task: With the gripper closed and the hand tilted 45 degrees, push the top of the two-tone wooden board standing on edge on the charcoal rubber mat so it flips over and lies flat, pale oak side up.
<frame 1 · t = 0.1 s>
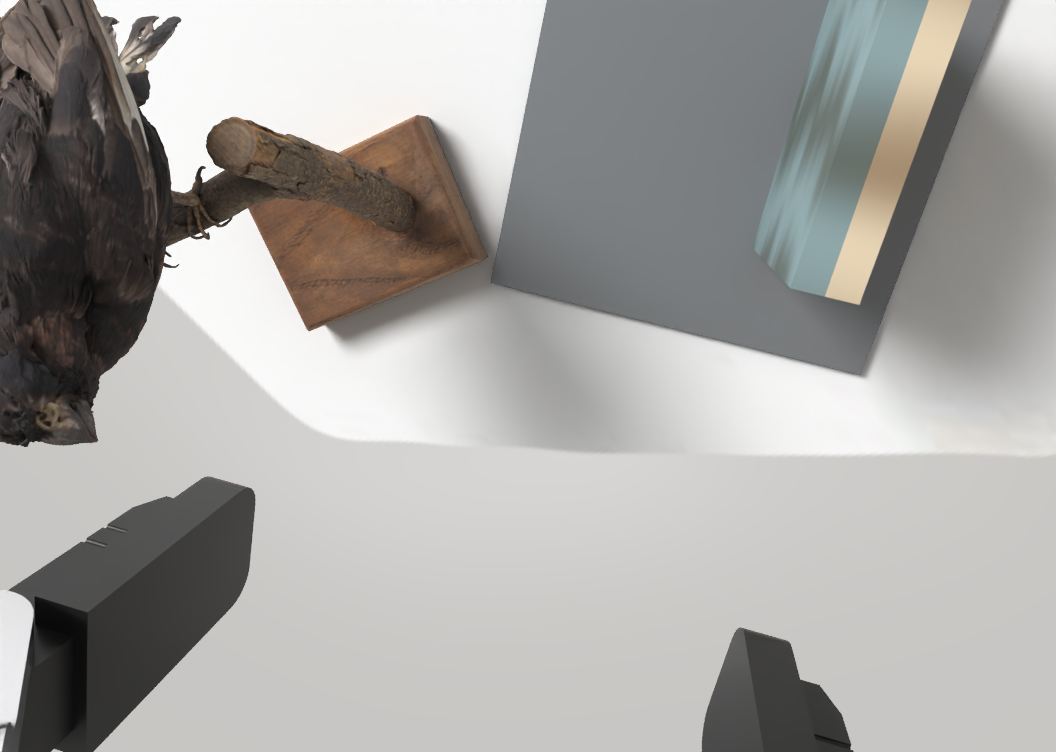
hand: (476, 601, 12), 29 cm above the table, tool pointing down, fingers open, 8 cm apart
bird figurine: (350, 171, 40), on the table
board: (815, 130, 35), resting on mat
mat: (731, 113, 36), on the table
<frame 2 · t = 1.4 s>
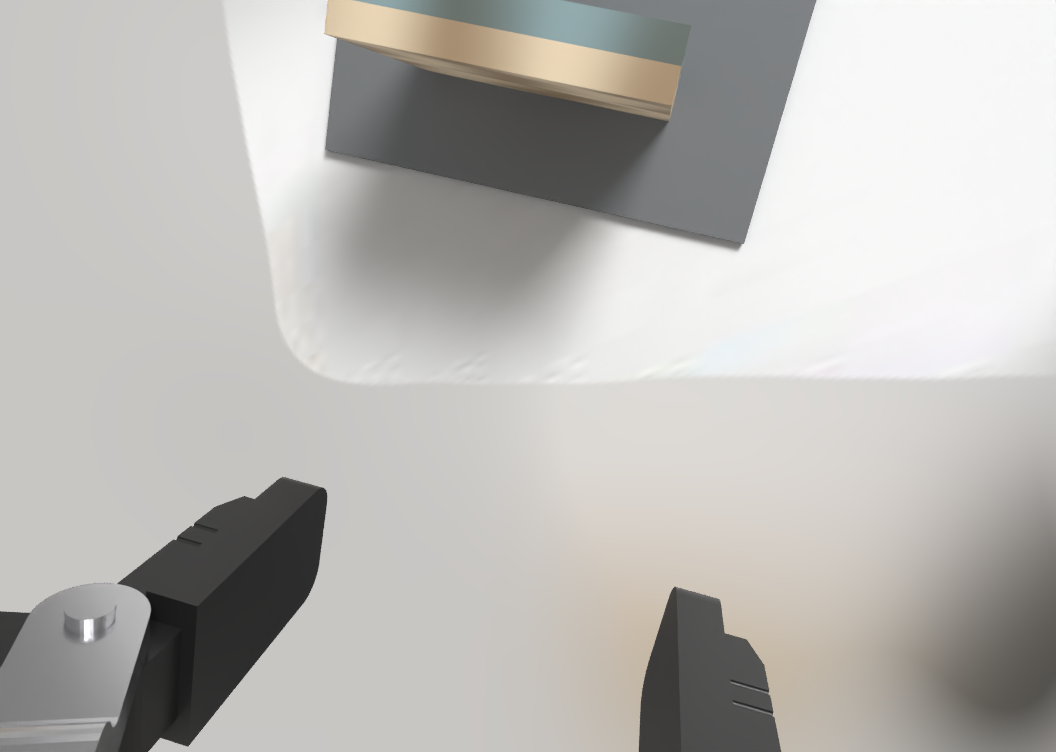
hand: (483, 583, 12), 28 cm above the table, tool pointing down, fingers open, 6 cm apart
board: (552, 69, 35), resting on mat
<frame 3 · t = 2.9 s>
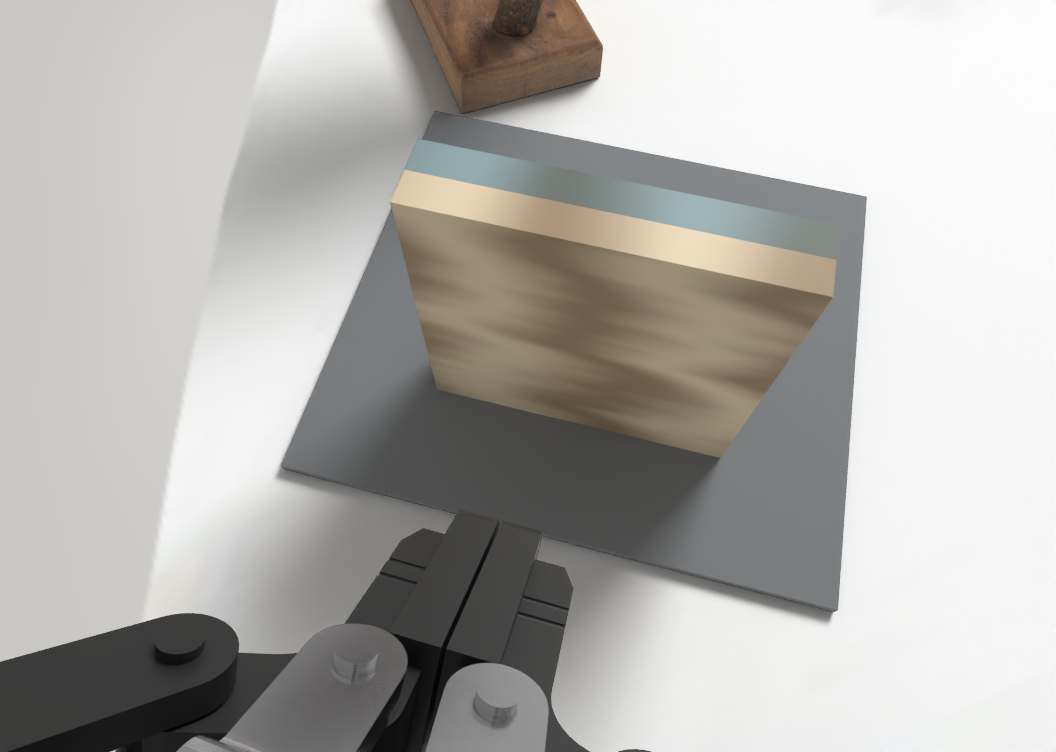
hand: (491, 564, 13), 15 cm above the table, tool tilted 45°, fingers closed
bird figurine: (550, 21, 42), on the table
board: (582, 397, 31), resting on mat
mat: (601, 322, 33), on the table
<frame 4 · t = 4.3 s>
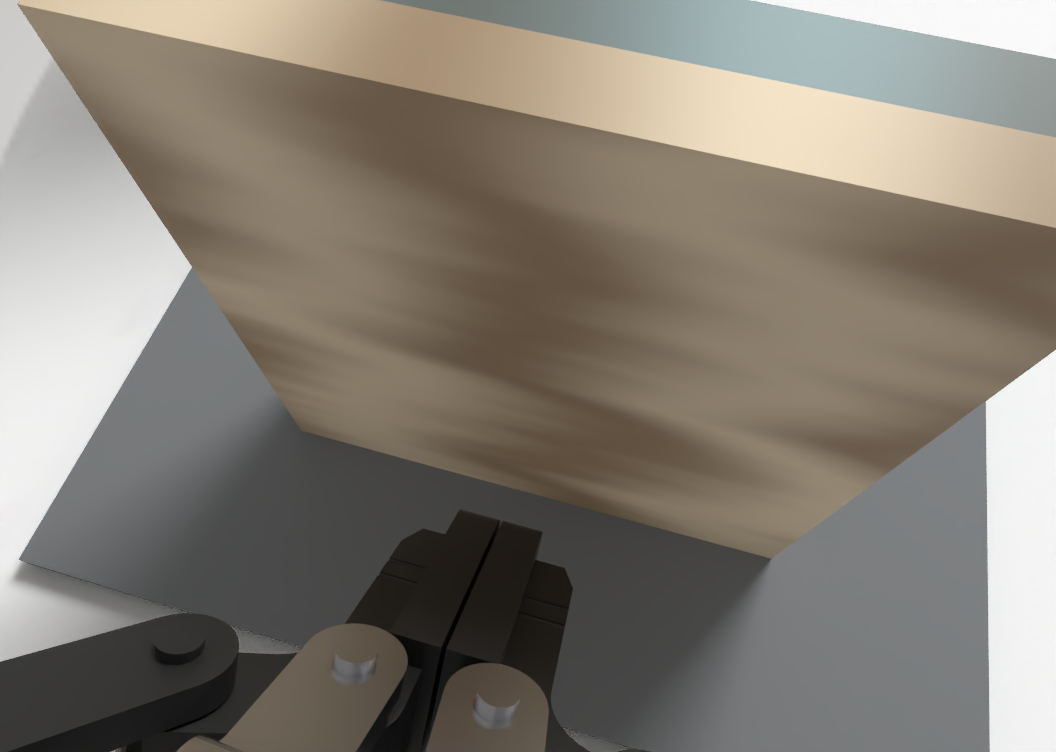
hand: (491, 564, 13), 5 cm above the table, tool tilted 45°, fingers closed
board: (540, 448, 19), resting on mat
mat: (576, 326, 21), on the table
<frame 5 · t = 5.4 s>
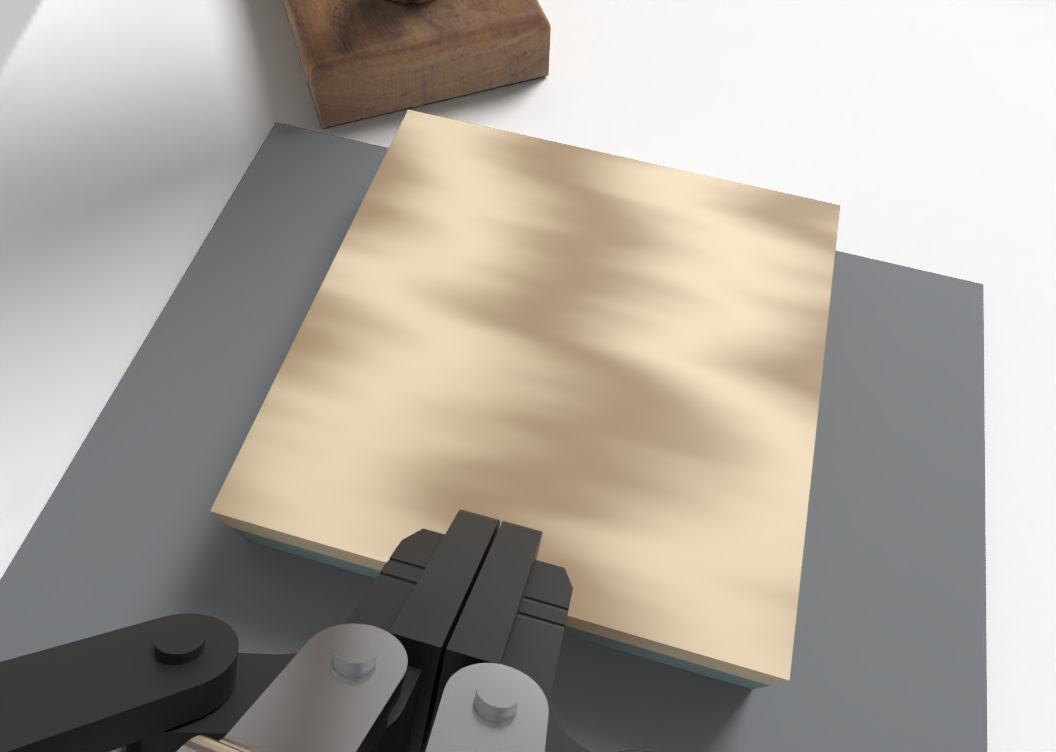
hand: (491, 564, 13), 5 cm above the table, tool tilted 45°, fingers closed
board: (488, 602, 16), point 2 cm above the table, tilted 90°, touching mat
mat: (521, 511, 18), on the table
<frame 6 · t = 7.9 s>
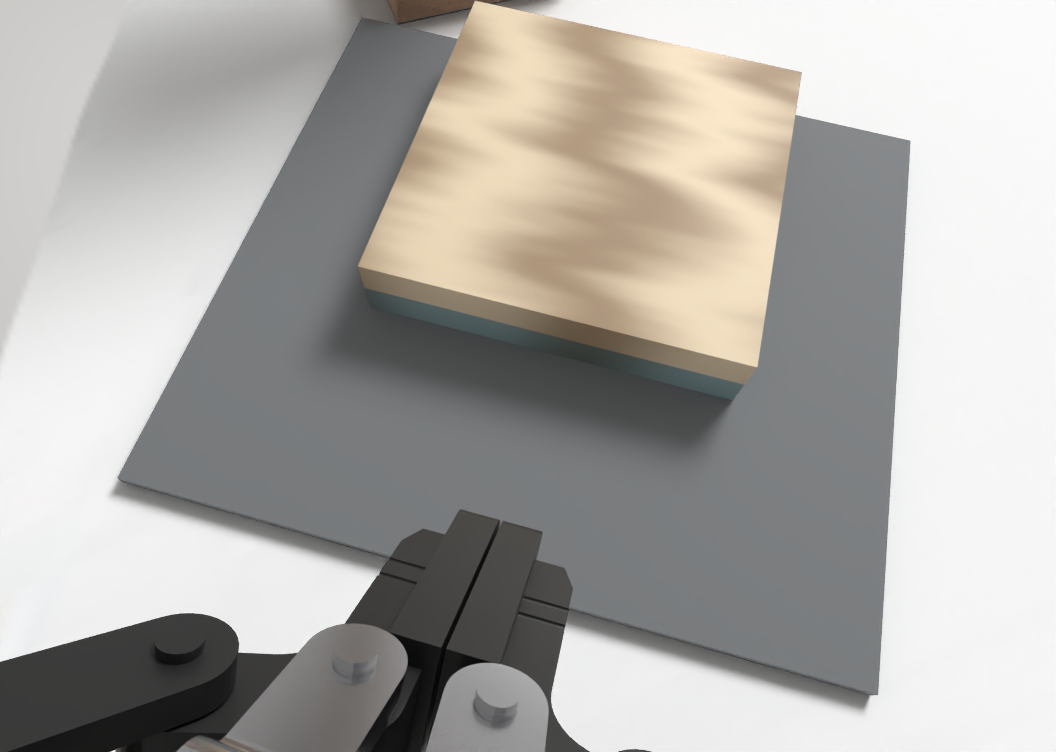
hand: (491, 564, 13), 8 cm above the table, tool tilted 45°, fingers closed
board: (550, 335, 22), point 2 cm above the table, tilted 90°, touching mat
mat: (566, 293, 25), on the table
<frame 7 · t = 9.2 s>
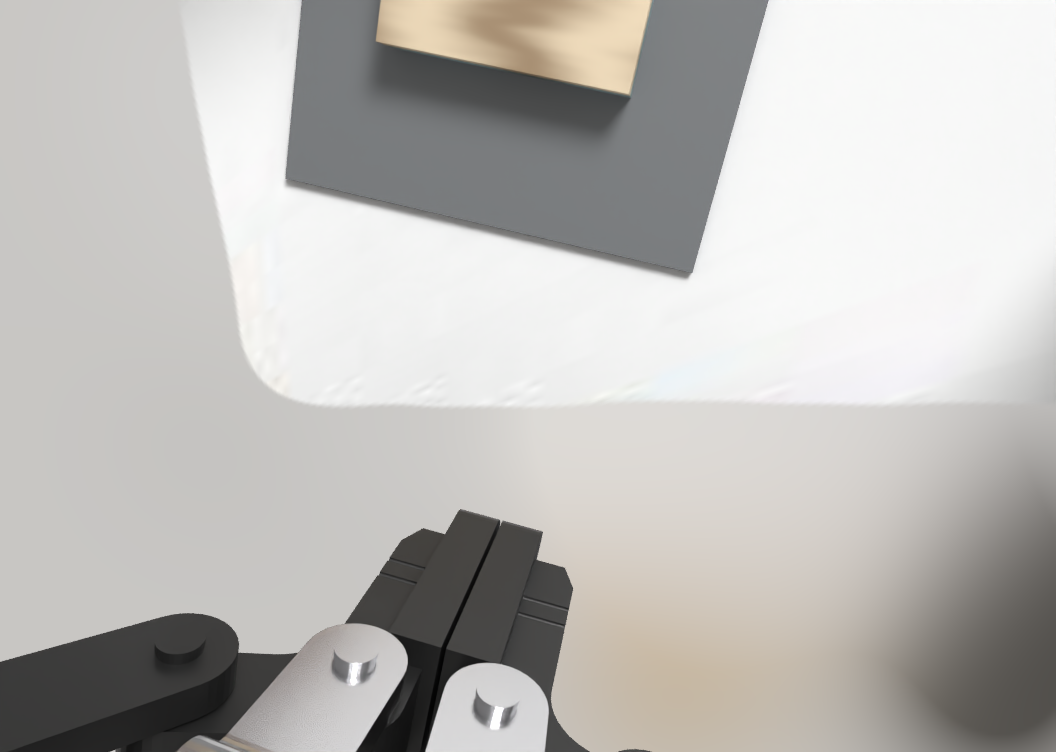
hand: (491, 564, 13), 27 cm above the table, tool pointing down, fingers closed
board: (505, 70, 34), point 2 cm above the table, tilted 90°, touching mat
mat: (522, 16, 35), on the table
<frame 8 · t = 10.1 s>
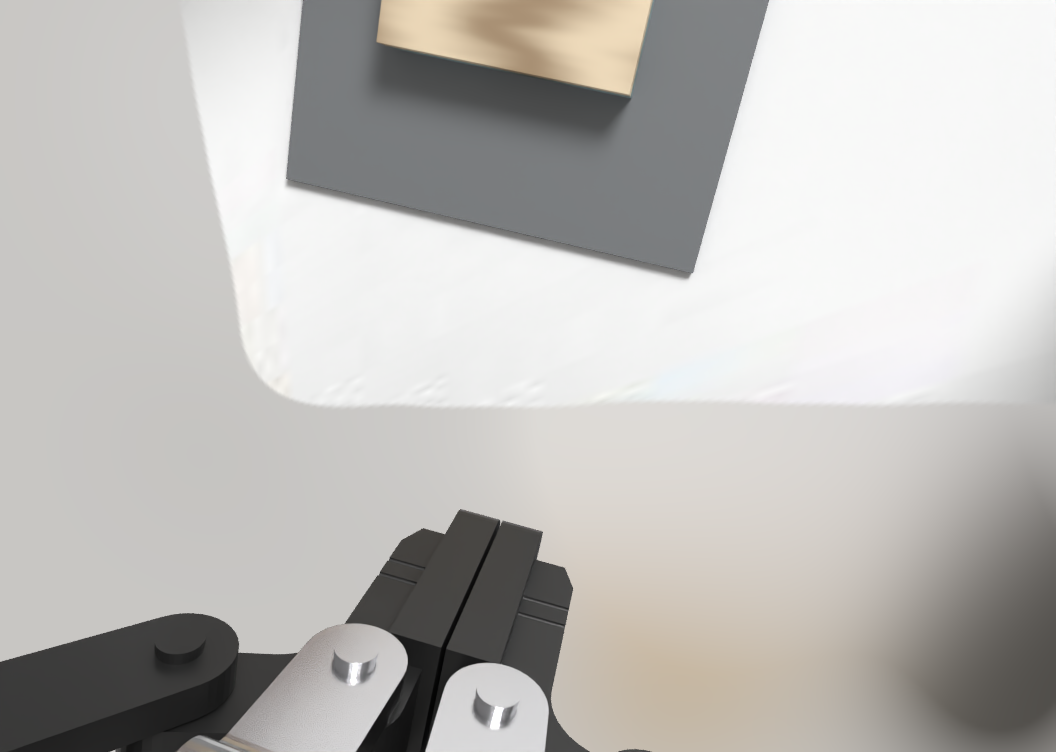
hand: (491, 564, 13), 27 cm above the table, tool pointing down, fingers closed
board: (505, 70, 34), point 2 cm above the table, tilted 90°, touching mat
mat: (522, 17, 35), on the table
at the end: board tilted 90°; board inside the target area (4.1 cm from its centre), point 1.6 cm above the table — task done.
